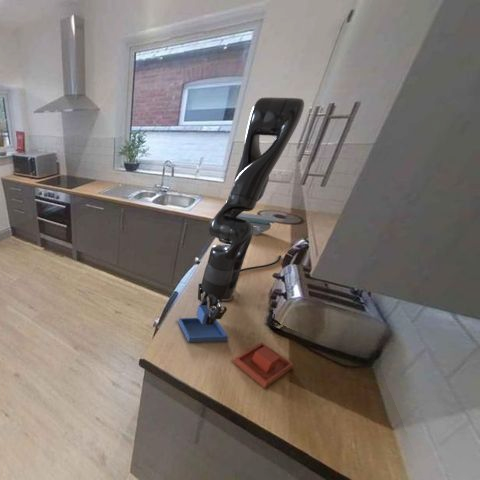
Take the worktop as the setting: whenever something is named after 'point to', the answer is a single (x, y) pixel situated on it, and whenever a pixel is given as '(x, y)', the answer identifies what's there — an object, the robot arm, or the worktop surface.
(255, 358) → the rust block
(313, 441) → the worktop surface
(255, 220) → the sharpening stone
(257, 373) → the rust tray
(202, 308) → the blue block
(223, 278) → the robot arm
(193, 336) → the blue tray
